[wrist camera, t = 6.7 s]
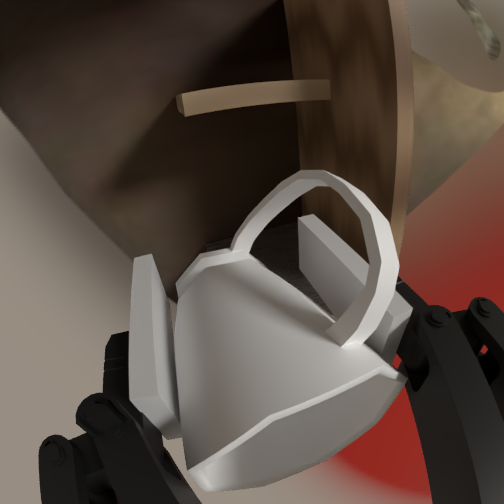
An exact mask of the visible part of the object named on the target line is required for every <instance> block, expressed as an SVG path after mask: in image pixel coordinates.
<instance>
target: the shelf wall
mask: <svg viewBox="0 0 504 504" xmlns="http://www.w3.org/2000/svg"><path fill="white" fill-rule="evenodd" d="M283 1H284V8H285V15H286V22H287V30H288V38H289V46H290V54H291V63H292V73H293V80H330V93H331V100H308V101H295V104H296V116H297V129H298V143H299V159H300V170H325V171H327V172H329V173H331V174H333V175H336V176H338V177H340V178H342V179H344V180H345V181H347V182H348V183H350V184H351V185H353V186H354V187H356V188H357V189H359V190H360V191H362V192H363V193H364V194H365V195H366V196H367V197H368V198H369V199H370V200H371V202H372V203H373V204H374V205H375V206H376V207H377V209H378V210H379V211H380V212H381V213H382V214H383V216H384V217H385V218H386V219H387V220H388V222H389V224H390V228H391V232H392V236H393V240H394V244H395V248H396V252H397V257H398V260H399V255H400V249H401V244H402V238H403V232H404V226H405V219H406V212H407V205H408V197H409V188H410V178H411V167H412V152H413V130H414V87H413V66H412V52H411V42H410V33H409V25H408V18H407V11H406V6H405V0H283ZM301 199H302V216H307V215H311V214H314V215H315V216H316V217H317V218H318V219H320V220H321V221H322V222H323V223H324V224H325V225H326V226H328V227H329V228H330V229H331V230H332V231H333V232H334V233H335V234H336V235H338V236H339V237H340V238H341V239H342V240H343V241H344V242H345V243H346V244H347V245H349V246H350V247H351V248H352V249H353V250H354V251H355V252H356V253H357V254H358V255H359V256H360V257H361V258H363V259H364V260H365V261H366V262H367V263H369V258H368V253H367V248H366V244H365V239H364V234H363V230H362V225H361V221H360V218H359V217H358V216H357V214H356V213H355V212H354V211H353V210H352V208H351V207H350V206H349V205H348V203H347V202H346V201H345V200H344V199H343V197H342V196H341V195H340V194H339V193H338V192H337V191H335V190H334V189H333V188H331V187H330V186H316V187H314V188H313V189H311V190H309V191H307V192H306V193H304V194H302V195H301Z"/></svg>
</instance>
